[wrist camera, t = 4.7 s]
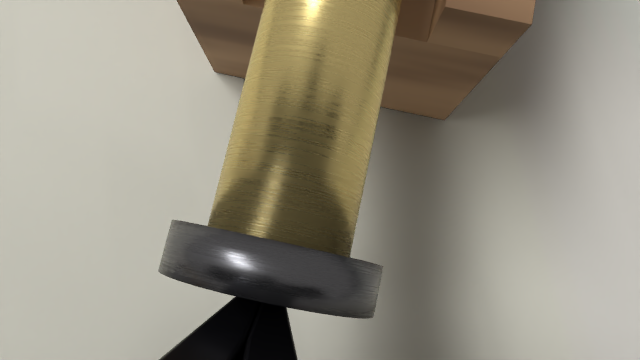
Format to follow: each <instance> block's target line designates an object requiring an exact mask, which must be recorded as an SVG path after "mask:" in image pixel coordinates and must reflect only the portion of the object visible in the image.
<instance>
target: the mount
mask: <svg viewBox="0 0 640 360" xmlns="http://www.w3.org/2000/svg"><path fill="white" fill-rule="evenodd" d="M535 1H536V0H402V2H401V6H400V11H399V16H398V21H397V26H396V31H395V36H394V41H393V46H392V51H391V56H390V61H389V65H388V70H387V75H386V80H385V85H384V90H383V95H382V100H381V105H380V107H384V108H389V109H394V110H399V111H404V112H408V113H413V114H418V115H423V116H427V117H432V118H437V119H442V120H445V119H446V118H447V117H448V116H449V115H450V113H451V112H452V111H453V110H454V109H455V108H456V107H457V106H458V105H459V104H460V103H461V101H462V100H463V99H464V98H465V97H466V96H467V95H468V94H469V93H470V92H471V90H472V89H473V88H474V87H475V86H476V85H477V84H478V83H479V82H480V81H481V80H482V78H483V77H484V76H485V75H486V74H487V73H488V72H489V71H490V70H491V69H492V67H493V66H494V65H495V64H496V63H497V62H498V61H499V60H500V59H501V58H502V57H503V55H504V54H505V53H506V52H507V51H508V50H509V49H510V48H511V47H512V46H513V44H514V43H515V42H516V41H517V40H518V39H519V38H520V37H521V36H522V35H523V33H524V32H525V31H526V30H527V29H528V28H529V27H530V26H531V25H532V20H533V14H534V7H535ZM177 2H178V4H179V6H180V8H181V9H182V11H183V13H184V15H185V17H186V19H187V21H188V23H189V25H190V26H191V28H192V30H193V32H194V34H195V36H196V38H197V40H198V41H199V43H200V45H201V47H202V49H203V51H204V53H205V55H206V57H207V58H208V60H209V62H210V64H211V66H212V68H213V70H214V72H218V73H223V74H227V75H232V76H237V77H242V78H245V77H246V74H247V70H248V66H249V62H250V58H251V54H252V50H253V46H254V42H255V38H256V34H257V30H258V27H259V23H260V19H261V15H262V11H263V7H264V3H265V0H177Z"/></svg>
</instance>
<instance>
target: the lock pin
mask: <svg viewBox="0 0 640 360" xmlns="http://www.w3.org/2000/svg"><path fill="white" fill-rule="evenodd" d="M401 2H402V0H265V3H264V7H263V11H262V15H261V19H260V23H259V27H258V30H257V34H256V38H255V42H254V46H253V50H252V54H251V58H250V62H249V66H248V70H247V74H246V77H245V81H244V85H243V89H242V93H241V97H240V101H239V105H238V109H237V113H236V117H235V121H234V124H233V128H232V132H231V136H230V140H229V144H228V148H227V152H226V156H225V160H224V164H223V168H222V171H221V175H220V179H219V183H218V187H217V191H216V195H215V199H214V203H213V207H212V211H211V215H210V218H209V222H208V226H204V225H199V224H194V223H189V222H183V221H177V220H172V222H171V225H170V229H169V233H168V236H167V240H166V244H165V248H164V251H163V255H162V259H161V263H160V266H159V270H158V271H159V272H160V273H161V274H163V275H165V276H167V277H170V278H173V279H175V280H178V281H181V282H185V283H188V284H191V285H194V286H198V287H202V288H205V289H209V290H213V291H216V292H220V293H224V294H228V295H233V296H237V297H241V298H245V299H250V300H254V301H259V302H263V303H268V304H273V305H278V306H283V307H288V308H293V309H298V310H304V311H309V312H315V313H321V314H328V315H334V316H342V317H351V318H373V317H374V312H375V307H376V301H377V296H378V291H379V286H380V280H381V275H382V270H383V266H380V265H377V264H373V263H370V262H366V261H362V260H358V259H353V258H349V257H350V252H351V247H352V243H353V238H354V233H355V228H356V223H357V218H358V213H359V208H360V203H361V198H362V193H363V188H364V184H365V179H366V174H367V169H368V164H369V159H370V154H371V149H372V144H373V139H374V134H375V129H376V124H377V120H378V115H379V110H380V105H381V100H382V95H383V90H384V85H385V80H386V75H387V70H388V65H389V61H390V56H391V51H392V46H393V41H394V36H395V31H396V26H397V21H398V16H399V11H400V6H401Z"/></svg>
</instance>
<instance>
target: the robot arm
mask: <svg viewBox="0 0 640 360" xmlns="http://www.w3.org/2000/svg"><path fill="white" fill-rule="evenodd" d="M159 360H297V355H296V350H295V346H294V341H293V336H292V332H291V327H290V322H289V318H288V313H287V308H286V307H283V306H278V305H273V304H268V303H263V302H259V301H254V300H250V299H245V298H241V297H237V296H236V297H235V298H233V299H232V300H231V301H230V302H229V303H227V304H226V305H225V306H224V307H222V308H221V309H220V310H219V311H218V312H216V313H215V314H214V315H213V316H212V317H210V318H209V319H208V320H207V321H205V322H204V323H203V324H202V325H201V326H199V327H198V328H197V329H196V330H195V331H193V332H192V333H191V334H190V335H188V336H187V337H186V338H185V339H184V340H182V341H181V342H180V343H179V344H178V345H176V346H175V347H174V348H173V349H171V350H170V351H169V352H168V353H167V354H165V355H164V356H163V357H162V358H161V359H159Z"/></svg>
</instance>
